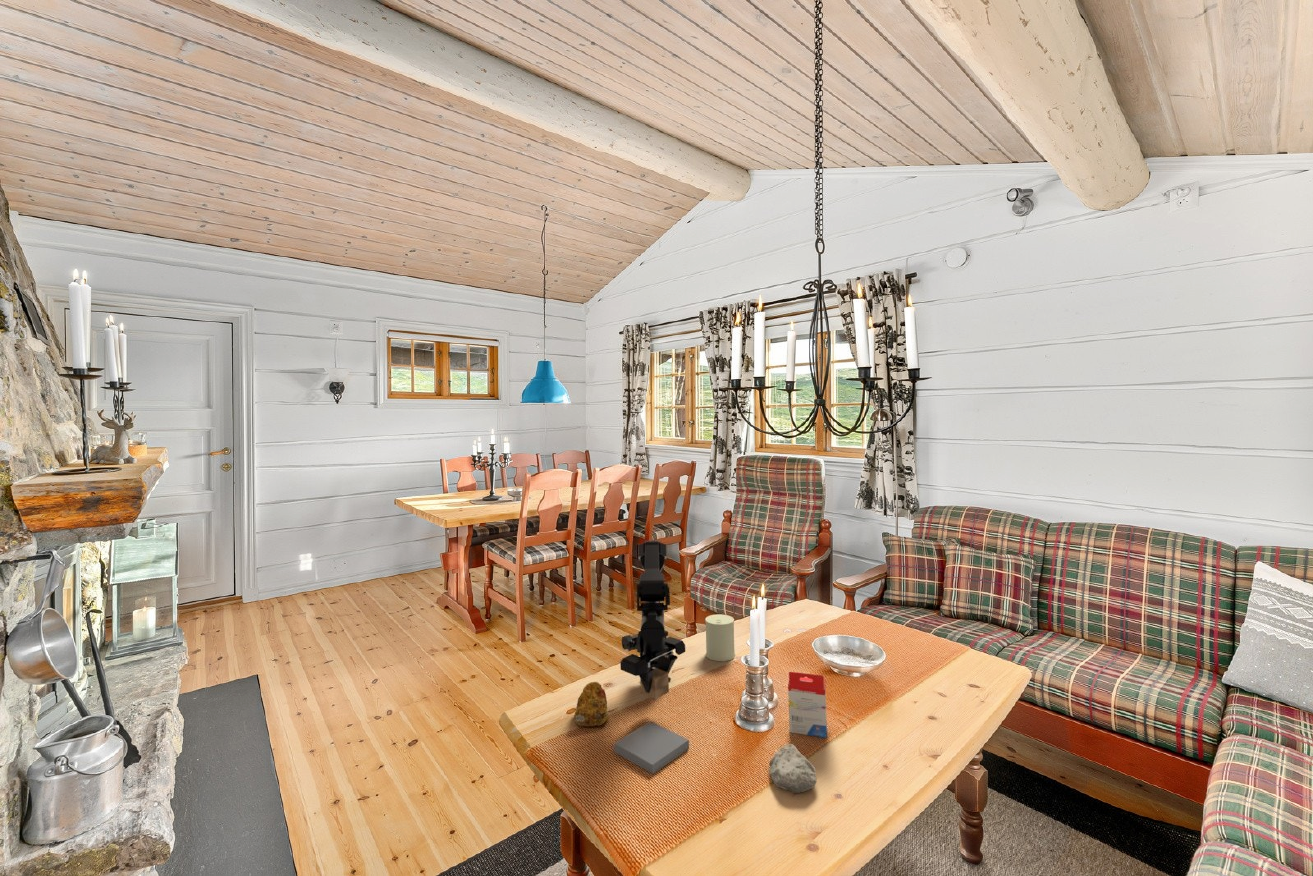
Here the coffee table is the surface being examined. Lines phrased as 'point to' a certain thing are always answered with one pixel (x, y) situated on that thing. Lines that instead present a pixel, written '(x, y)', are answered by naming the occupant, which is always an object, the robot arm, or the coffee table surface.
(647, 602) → the robot arm
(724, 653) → the pale green cylinder
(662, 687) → the walnut cube
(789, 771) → the decorative stone
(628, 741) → the plate
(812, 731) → the ink box
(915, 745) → the coffee table surface
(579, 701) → the rock
